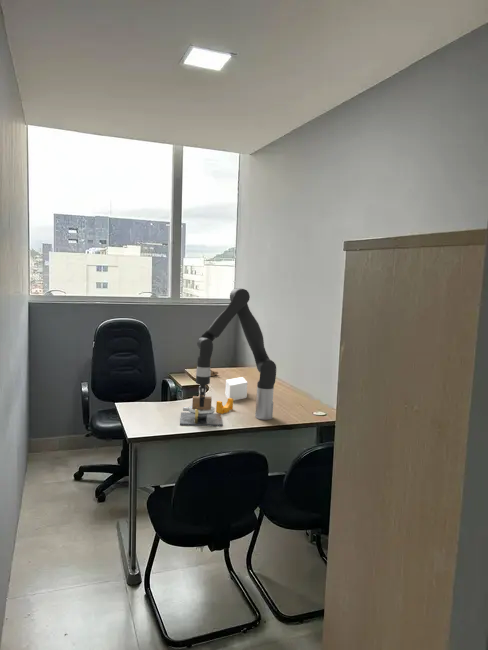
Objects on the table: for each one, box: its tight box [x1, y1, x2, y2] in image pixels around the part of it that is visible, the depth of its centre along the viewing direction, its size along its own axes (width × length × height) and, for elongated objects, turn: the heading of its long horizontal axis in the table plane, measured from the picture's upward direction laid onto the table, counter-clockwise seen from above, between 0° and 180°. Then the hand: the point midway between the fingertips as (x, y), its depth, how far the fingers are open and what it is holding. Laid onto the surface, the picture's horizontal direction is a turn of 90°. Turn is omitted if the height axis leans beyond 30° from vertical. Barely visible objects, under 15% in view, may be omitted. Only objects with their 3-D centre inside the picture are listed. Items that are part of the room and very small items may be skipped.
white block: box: [224, 376, 248, 402], centre depth 321 cm, size 14×29×10 cm, turn 165°
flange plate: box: [182, 395, 216, 415], centre depth 265 cm, size 17×14×8 cm
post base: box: [179, 411, 224, 427], centre depth 265 cm, size 22×20×5 cm
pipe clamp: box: [215, 398, 234, 415], centre depth 285 cm, size 12×4×6 cm, turn 142°
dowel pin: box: [195, 409, 198, 423], centre depth 257 cm, size 2×2×7 cm
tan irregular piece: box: [210, 363, 219, 377], centre depth 381 cm, size 15×12×15 cm
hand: (201, 404), depth 265 cm, fingers open, 8 cm apart
